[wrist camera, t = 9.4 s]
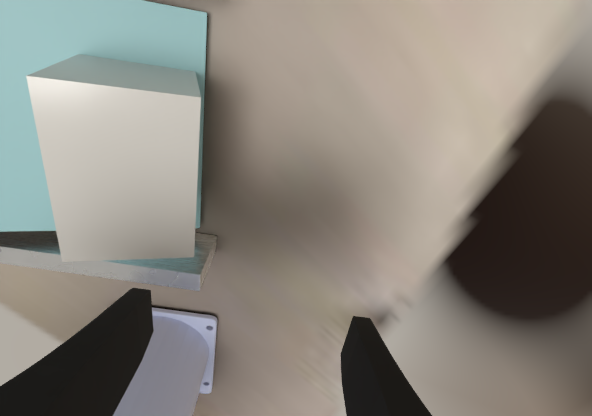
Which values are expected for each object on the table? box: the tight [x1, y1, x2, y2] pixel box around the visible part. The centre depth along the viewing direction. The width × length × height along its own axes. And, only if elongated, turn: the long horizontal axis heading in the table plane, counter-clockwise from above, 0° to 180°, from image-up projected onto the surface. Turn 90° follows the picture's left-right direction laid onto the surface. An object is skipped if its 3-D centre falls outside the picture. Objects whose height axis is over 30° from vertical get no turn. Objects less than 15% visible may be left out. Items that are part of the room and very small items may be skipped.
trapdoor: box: [0, 0, 207, 232], centre depth 15 cm, size 12×18×3 cm, turn 80°
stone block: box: [26, 54, 201, 262], centre depth 15 cm, size 7×5×6 cm
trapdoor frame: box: [0, 231, 217, 291], centre depth 16 cm, size 16×17×5 cm
